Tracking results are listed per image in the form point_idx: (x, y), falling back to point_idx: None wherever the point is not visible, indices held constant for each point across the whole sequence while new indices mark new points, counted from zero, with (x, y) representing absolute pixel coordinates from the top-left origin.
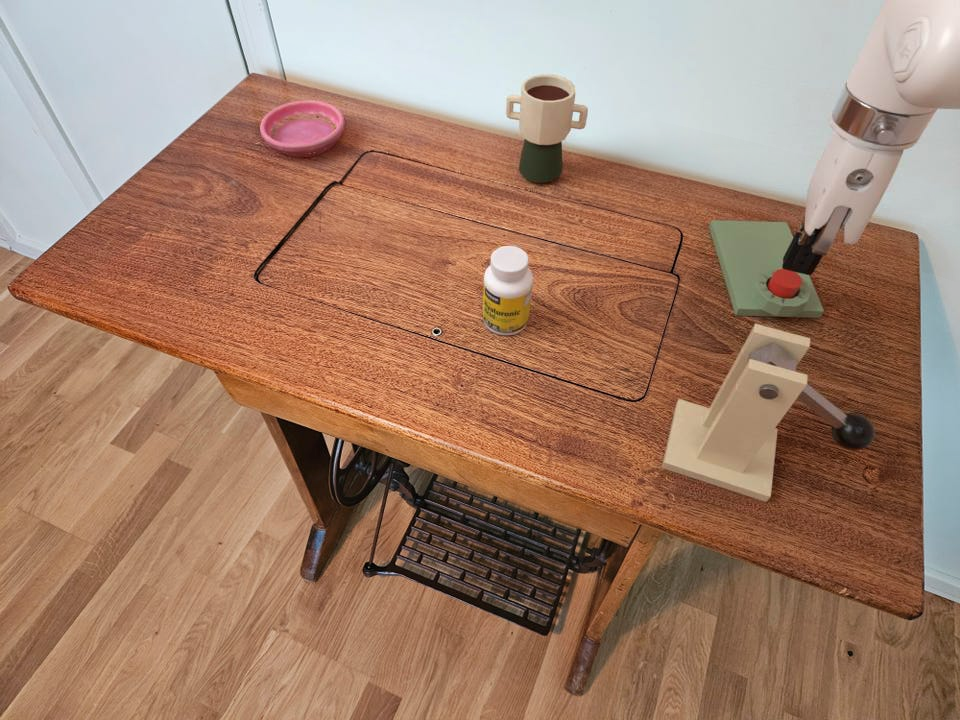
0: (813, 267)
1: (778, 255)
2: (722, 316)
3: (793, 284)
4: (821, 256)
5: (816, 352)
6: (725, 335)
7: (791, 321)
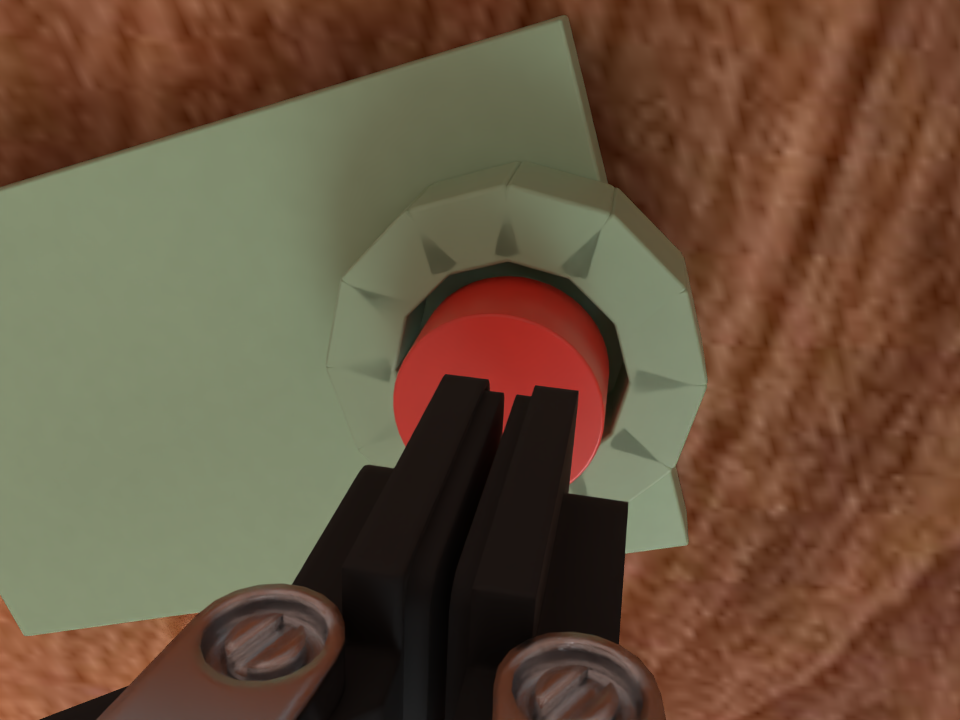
0: (568, 444)
1: (131, 313)
2: (708, 568)
3: (553, 380)
4: (552, 519)
5: (915, 43)
6: (857, 560)
7: (649, 204)
